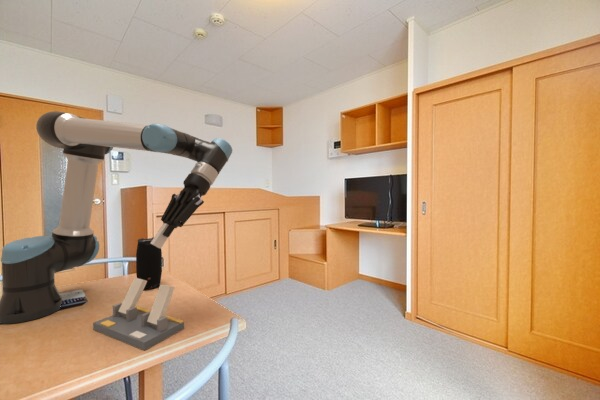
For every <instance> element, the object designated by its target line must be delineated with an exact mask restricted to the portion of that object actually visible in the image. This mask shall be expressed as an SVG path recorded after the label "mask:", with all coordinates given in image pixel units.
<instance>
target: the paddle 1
mask: <svg viewBox="0 0 600 400" xmlns="http://www.w3.org/2000/svg"><path fill="white" fill-rule="evenodd" d="M146 283H147V281H146V280H143V279H139V278H137V277H134V279H133V281H132V282H131V284H130V287H129V289H128V290H127V293H126V294H125V297H124V298H123V301H122V302H121V303H122V305H121V307H120V309H119V311H118V313H119V314H122V315H125V316H126V310H128V309H130V308H133V307H135V306H137V304H138V302H139V300H140V298H141V296H142V294H143V292H144V291H145V289H144V287H145V285H146Z"/></svg>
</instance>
